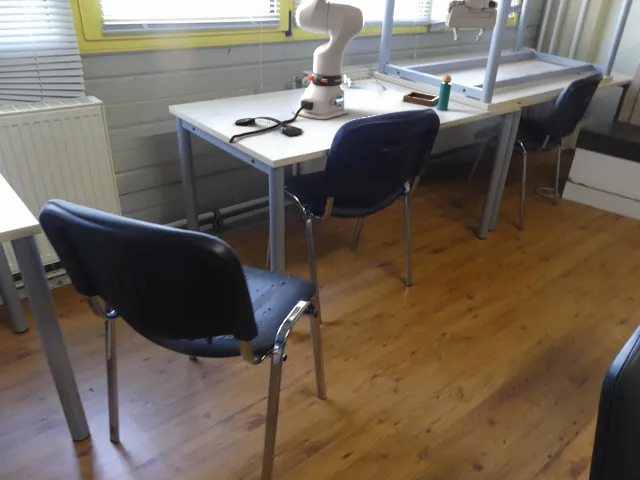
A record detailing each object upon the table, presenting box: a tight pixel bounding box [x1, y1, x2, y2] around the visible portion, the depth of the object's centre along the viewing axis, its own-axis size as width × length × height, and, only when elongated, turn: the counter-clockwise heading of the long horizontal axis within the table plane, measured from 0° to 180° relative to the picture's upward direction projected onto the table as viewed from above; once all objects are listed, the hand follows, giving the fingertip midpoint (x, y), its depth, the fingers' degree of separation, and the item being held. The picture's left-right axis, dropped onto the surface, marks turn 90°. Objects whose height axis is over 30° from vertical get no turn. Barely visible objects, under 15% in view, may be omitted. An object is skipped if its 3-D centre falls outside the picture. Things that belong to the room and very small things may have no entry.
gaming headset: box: [234, 116, 303, 137], centre depth 192 cm, size 9×25×3 cm, turn 67°
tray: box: [402, 91, 439, 107], centre depth 246 cm, size 11×13×2 cm
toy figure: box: [436, 74, 452, 112], centre depth 234 cm, size 4×4×14 cm
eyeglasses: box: [343, 74, 387, 90], centre depth 264 cm, size 15×18×4 cm
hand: (467, 40), depth 212 cm, fingers open, 8 cm apart
